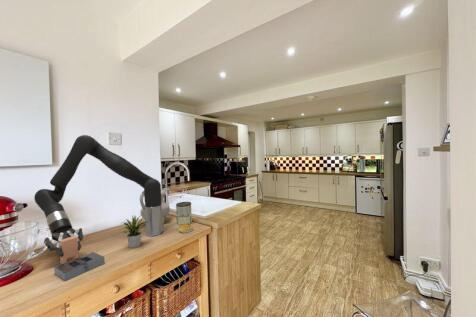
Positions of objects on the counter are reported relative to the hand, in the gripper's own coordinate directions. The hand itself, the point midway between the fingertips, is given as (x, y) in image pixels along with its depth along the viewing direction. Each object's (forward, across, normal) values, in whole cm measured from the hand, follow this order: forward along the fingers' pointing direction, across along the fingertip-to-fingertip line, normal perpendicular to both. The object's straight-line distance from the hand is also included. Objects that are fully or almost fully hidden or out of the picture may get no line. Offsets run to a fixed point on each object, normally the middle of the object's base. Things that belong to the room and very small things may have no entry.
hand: (70, 252), depth 89 cm
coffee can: (+9, +62, -2) cm, 63 cm away
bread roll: (+17, +52, -9) cm, 55 cm away
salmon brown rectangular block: (+2, 0, +5) cm, 5 cm away
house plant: (+11, +23, -4) cm, 26 cm away
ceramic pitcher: (-5, +53, +13) cm, 55 cm away
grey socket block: (+10, 0, -3) cm, 10 cm away
